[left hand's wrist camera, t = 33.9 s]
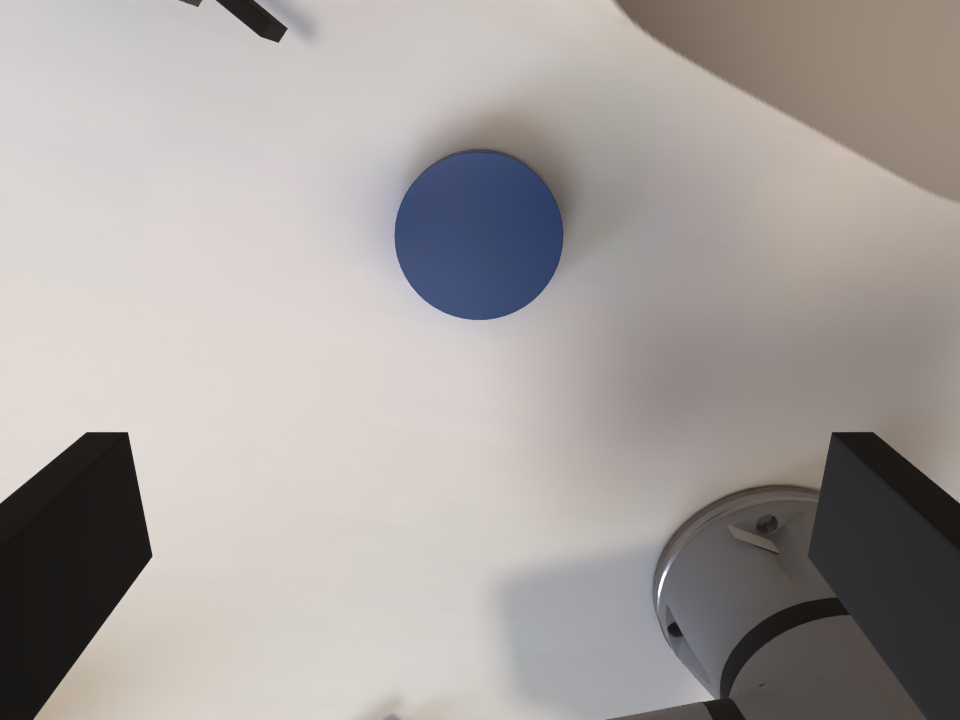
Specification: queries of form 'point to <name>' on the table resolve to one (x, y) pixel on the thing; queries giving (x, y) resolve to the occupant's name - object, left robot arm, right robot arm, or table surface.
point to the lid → (478, 235)
